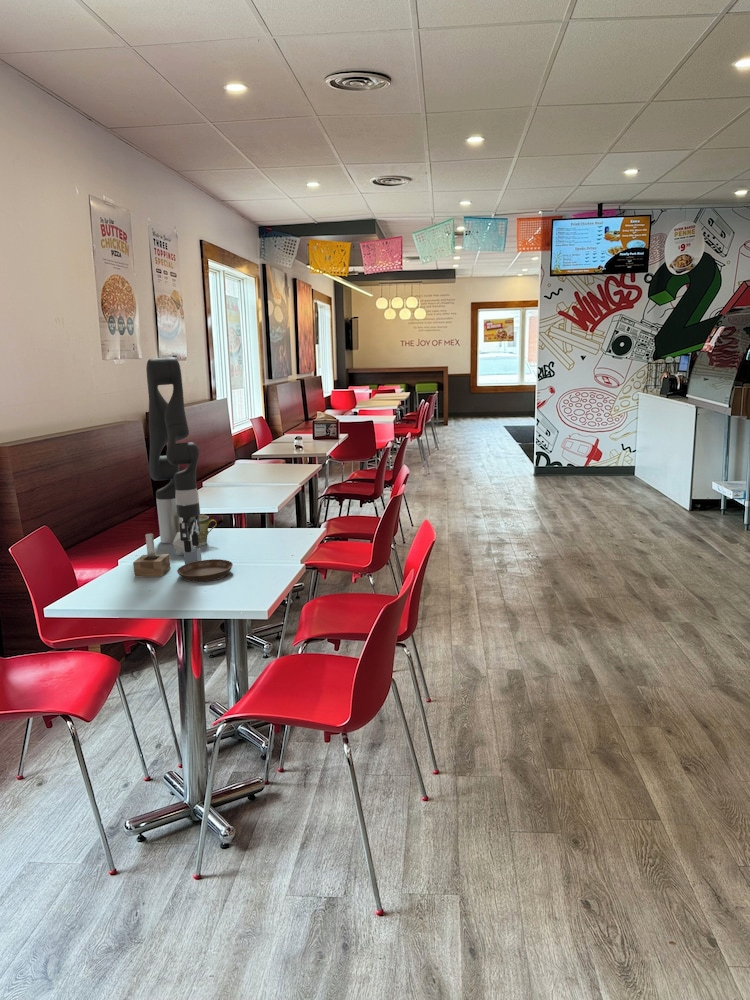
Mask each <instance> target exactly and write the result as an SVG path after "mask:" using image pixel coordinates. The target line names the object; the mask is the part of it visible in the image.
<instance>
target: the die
mask: <svg viewBox="0 0 750 1000" xmlns="http://www.w3.org/2000/svg"><path fill="white" fill-rule="evenodd" d="M185 537H186V536H185ZM172 545H173V547H174V549H175V551H176V553H177V555H178V556H184V552H185V549H184V541H181V538H180V532H179V533H177V534H176V536H175V539H174V541H173V543H172ZM191 548H192V549H195V548H197V546H193V545H192V536H191Z"/></svg>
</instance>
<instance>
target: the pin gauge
mask: <svg viewBox="0 0 750 1000" xmlns="http://www.w3.org/2000/svg"><path fill="white" fill-rule="evenodd" d="M145 543H146V544H145V545H146V555H148V560H156V558H155V554H156V550H155V541H154V534H153V533H146V534H145Z"/></svg>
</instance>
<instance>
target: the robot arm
mask: <svg viewBox="0 0 750 1000" xmlns="http://www.w3.org/2000/svg"><path fill="white" fill-rule="evenodd" d="M146 379H147V380H146V381H147V392H148V393H147V394H148V430H149V431H148V432H149V433H148V434H149V454H148V455H149V456H148V457H149V458H148V471H149V477H150V479H152V480H153V481H154V482H155V481H168V480H170V481H169V482H168V483H167V484H166V485H165V486H163V487H161V488H158V489H157V490H156V491H155V499H156V507H157V508H156V509H157V517H158V526H159V527H158V528H159V537H160V543H161V544H173V541H174V539H175V536H176V534H177V533H179V532H180V538H181V541H184V549H185V552H191V551H192V548H191V536H192V545H193V546H196V547H199V546H198V545H199V538H198V535H199V532H200V523H199V516H201V508H200V498H199V492H198V487H197V486H198V485H197V468H198V467H197V466H198V462H199V457H200V449H199V447H198V445H197V444H196V443H195V442H192V441H190V442H180V443H179V442H178V441H181V440H182V441H183V440H184V439H186V438H187V437H188V436H189V434H190V430H189V425H188V421H187V416H186V411H185V410H186V409H185V402H184V401H185V399H184V389H183V379H182V369H181V365H180V363H179V360H178V358H176V357H173V356H170V357H153V358H149V359H148V360H147V363H146ZM167 385H172V387H173V389H172V395H171V397H170V399H169V401H168V402H167V400H166V399H165V398H164V397H163V395H162V393H161V391H159V386H167ZM177 442H178V443H177ZM165 446H166V454H165V455H161V453H162V451H163V449H164V447H165ZM180 465H187V467H186V468H184V469H182V470H180ZM182 519H183V523H182ZM185 536H186V537H185Z"/></svg>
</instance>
